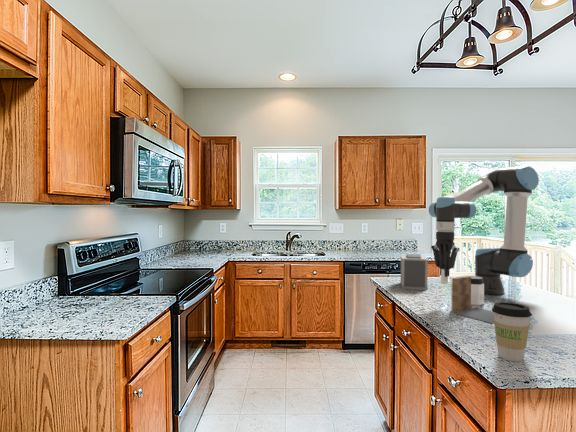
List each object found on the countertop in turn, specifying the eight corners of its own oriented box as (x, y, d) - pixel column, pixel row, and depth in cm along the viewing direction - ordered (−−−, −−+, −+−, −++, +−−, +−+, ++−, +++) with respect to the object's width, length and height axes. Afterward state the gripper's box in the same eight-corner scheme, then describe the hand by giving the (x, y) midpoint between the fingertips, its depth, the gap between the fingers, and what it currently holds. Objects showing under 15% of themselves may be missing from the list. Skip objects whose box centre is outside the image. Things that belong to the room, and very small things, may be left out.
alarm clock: (400, 282, 211) (400, 251, 211) (424, 283, 208) (424, 252, 208) (401, 289, 194) (402, 255, 193) (427, 290, 190) (427, 256, 190)
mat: (476, 308, 155) (476, 307, 155) (515, 317, 142) (515, 316, 142) (453, 313, 147) (453, 312, 147) (492, 323, 134) (492, 323, 134)
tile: (465, 307, 157) (465, 275, 157) (470, 308, 155) (471, 276, 154) (451, 310, 152) (451, 277, 151) (456, 311, 149) (456, 278, 149)
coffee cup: (483, 351, 108) (484, 301, 107) (514, 350, 108) (515, 301, 108) (506, 365, 98) (507, 310, 98) (539, 363, 99) (540, 310, 98)
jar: (476, 306, 158) (476, 279, 158) (459, 302, 165) (459, 276, 165) (487, 303, 163) (487, 277, 163) (469, 299, 170) (469, 274, 170)
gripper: (427, 230, 163) (426, 281, 164) (452, 232, 152) (452, 286, 152) (437, 230, 167) (437, 280, 167) (463, 231, 156) (462, 285, 156)
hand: (444, 283), depth 160 cm, fingers closed
